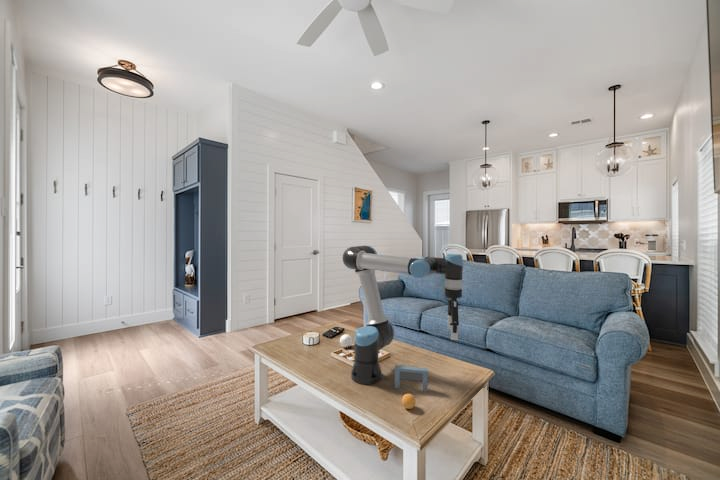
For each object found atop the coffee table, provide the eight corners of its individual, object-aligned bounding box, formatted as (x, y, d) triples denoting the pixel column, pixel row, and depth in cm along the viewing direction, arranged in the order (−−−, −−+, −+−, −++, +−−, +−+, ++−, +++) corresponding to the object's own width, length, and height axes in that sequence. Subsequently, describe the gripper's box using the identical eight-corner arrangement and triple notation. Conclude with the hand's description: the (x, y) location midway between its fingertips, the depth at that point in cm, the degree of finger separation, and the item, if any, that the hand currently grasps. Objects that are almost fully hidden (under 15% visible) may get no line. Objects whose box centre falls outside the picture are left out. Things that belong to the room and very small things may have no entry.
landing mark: (398, 378, 150) (398, 378, 150) (400, 366, 162) (400, 366, 162) (425, 381, 147) (425, 381, 147) (426, 369, 160) (426, 369, 160)
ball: (401, 410, 123) (401, 397, 123) (402, 403, 129) (402, 390, 128) (415, 412, 122) (415, 399, 122) (415, 404, 127) (415, 391, 127)
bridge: (427, 391, 138) (427, 371, 138) (394, 387, 141) (394, 368, 141) (427, 388, 141) (427, 368, 141) (395, 384, 144) (395, 365, 144)
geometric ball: (342, 351, 190) (335, 341, 190) (349, 343, 196) (342, 333, 196) (350, 348, 185) (342, 338, 185) (357, 340, 191) (349, 330, 191)
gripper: (466, 294, 127) (465, 345, 128) (458, 283, 152) (457, 326, 153) (447, 293, 129) (446, 343, 130) (442, 282, 153) (441, 325, 154)
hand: (452, 334), depth 141 cm, fingers open, 13 cm apart
